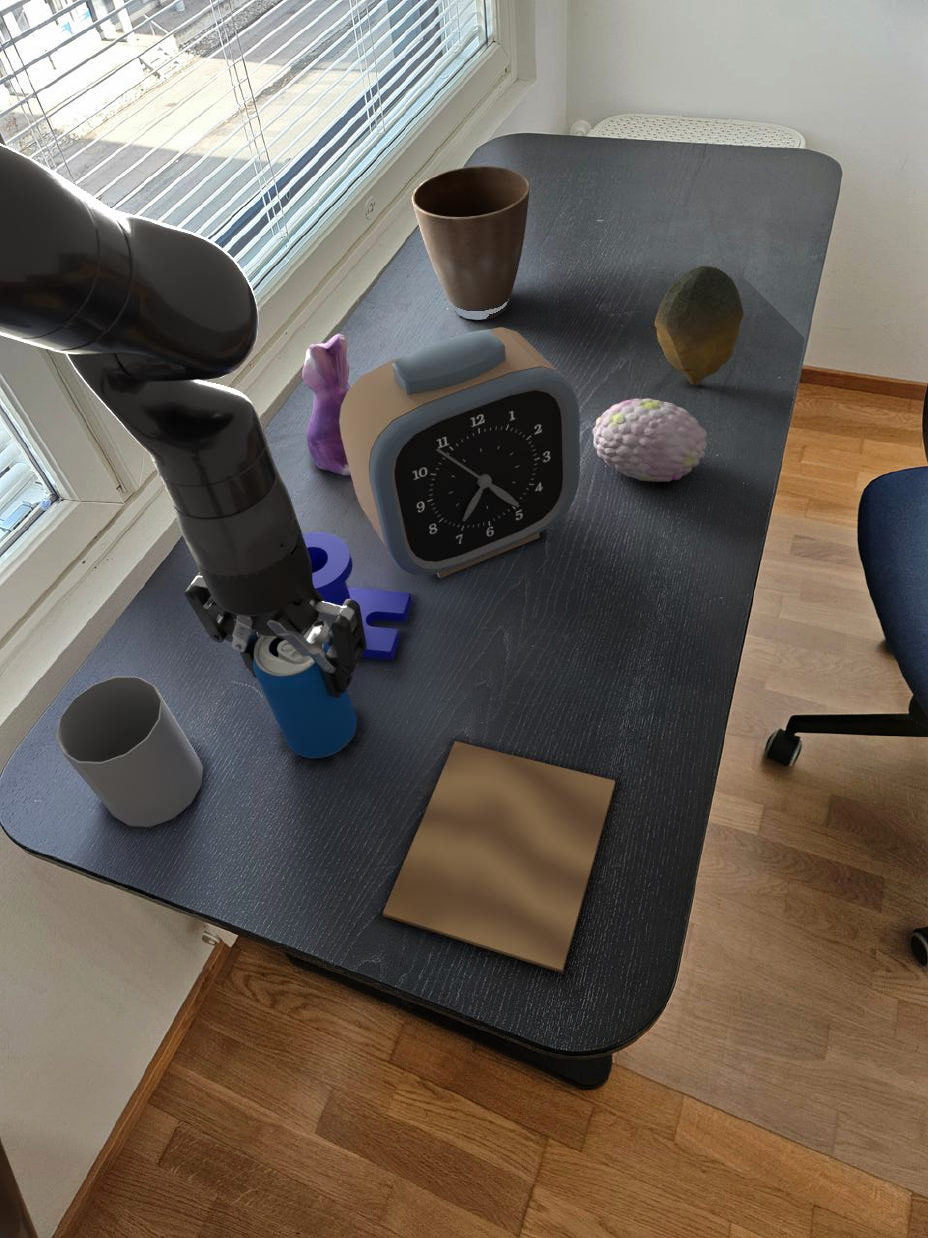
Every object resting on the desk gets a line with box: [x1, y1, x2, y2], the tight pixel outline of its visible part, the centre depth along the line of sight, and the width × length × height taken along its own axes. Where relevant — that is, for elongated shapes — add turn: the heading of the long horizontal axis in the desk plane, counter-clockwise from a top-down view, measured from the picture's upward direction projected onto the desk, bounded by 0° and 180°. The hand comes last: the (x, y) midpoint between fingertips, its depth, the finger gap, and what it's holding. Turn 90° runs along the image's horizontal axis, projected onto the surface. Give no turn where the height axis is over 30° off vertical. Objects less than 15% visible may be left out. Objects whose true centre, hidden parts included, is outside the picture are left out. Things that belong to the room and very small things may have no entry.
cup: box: [55, 675, 204, 828], centre depth 74 cm, size 8×8×10 cm
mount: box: [302, 531, 413, 661], centre depth 84 cm, size 15×8×9 cm, turn 78°
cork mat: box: [382, 740, 616, 974], centre depth 70 cm, size 16×14×1 cm
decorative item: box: [592, 397, 708, 483], centre depth 95 cm, size 9×11×10 cm
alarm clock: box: [339, 327, 581, 579], centre depth 86 cm, size 21×10×22 cm, turn 115°
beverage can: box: [253, 625, 358, 759], centre depth 75 cm, size 6×6×12 cm
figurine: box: [301, 333, 352, 476], centre depth 100 cm, size 9×10×15 cm
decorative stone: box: [654, 265, 745, 386], centre depth 102 cm, size 10×6×15 cm, turn 73°
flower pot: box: [411, 165, 531, 321], centre depth 118 cm, size 15×15×16 cm
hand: (302, 679), depth 73 cm, fingers closed on beverage can, 6 cm apart
